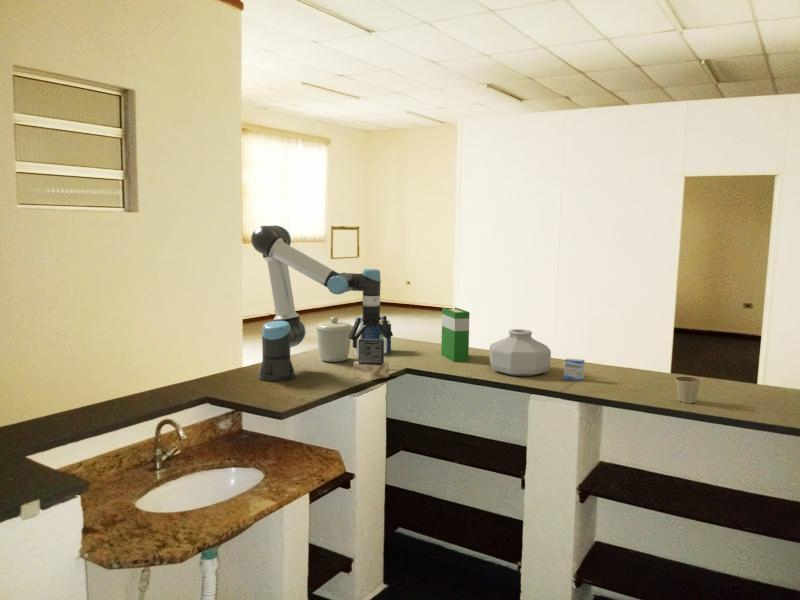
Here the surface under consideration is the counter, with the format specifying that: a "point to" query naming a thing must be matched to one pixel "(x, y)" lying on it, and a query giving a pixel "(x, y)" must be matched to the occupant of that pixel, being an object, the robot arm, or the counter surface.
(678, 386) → the flower pot
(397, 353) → the counter surface
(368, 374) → the oak block
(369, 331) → the protein box
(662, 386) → the counter surface
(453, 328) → the hardback book
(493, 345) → the pot
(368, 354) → the small box
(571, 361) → the medicine box
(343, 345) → the canister
